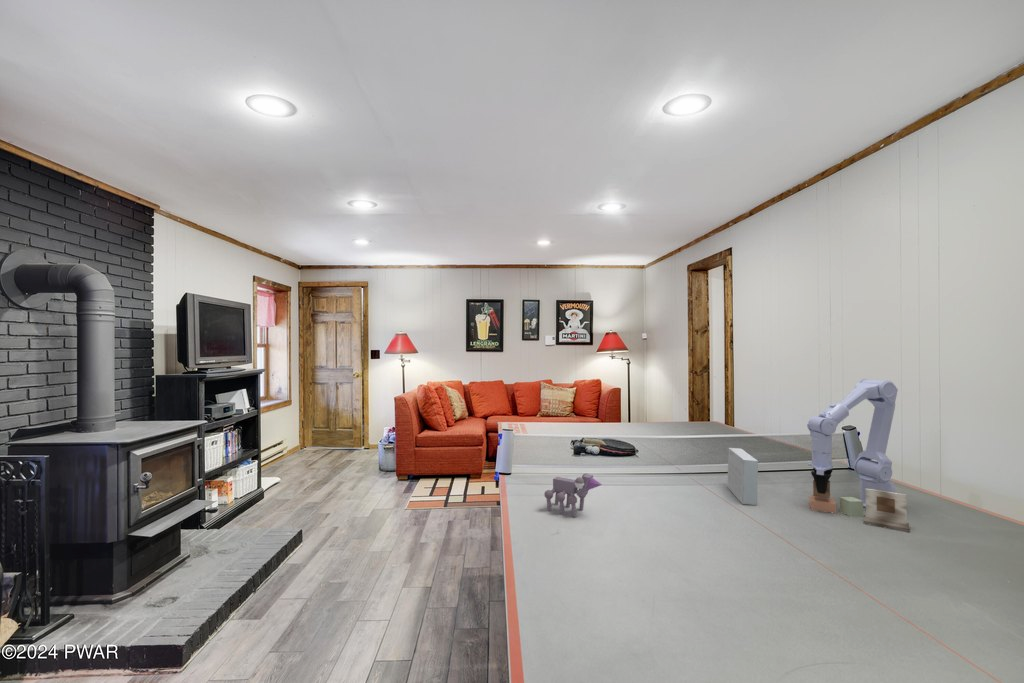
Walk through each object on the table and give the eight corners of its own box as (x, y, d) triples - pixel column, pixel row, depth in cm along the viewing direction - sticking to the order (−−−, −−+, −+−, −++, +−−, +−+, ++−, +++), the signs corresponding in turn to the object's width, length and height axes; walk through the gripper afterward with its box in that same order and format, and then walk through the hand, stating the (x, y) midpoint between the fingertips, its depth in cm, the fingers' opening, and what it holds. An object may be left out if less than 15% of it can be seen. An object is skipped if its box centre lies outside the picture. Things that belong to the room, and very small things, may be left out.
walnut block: (814, 492, 162) (814, 478, 162) (830, 495, 159) (829, 480, 159) (813, 495, 158) (813, 481, 159) (829, 498, 156) (829, 483, 156)
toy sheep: (609, 513, 155) (608, 473, 155) (595, 525, 147) (594, 482, 146) (557, 502, 167) (556, 464, 166) (542, 512, 158) (540, 473, 158)
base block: (809, 504, 164) (809, 494, 164) (833, 508, 160) (833, 497, 160) (811, 510, 157) (810, 500, 158) (835, 514, 154) (835, 503, 154)
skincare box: (759, 505, 162) (758, 460, 162) (742, 504, 163) (741, 459, 163) (741, 487, 183) (741, 447, 183) (727, 487, 184) (726, 447, 184)
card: (908, 526, 143) (908, 493, 143) (909, 532, 138) (909, 499, 138) (864, 518, 150) (863, 487, 150) (863, 523, 145) (863, 491, 145)
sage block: (852, 511, 156) (852, 496, 156) (863, 516, 151) (863, 501, 152) (839, 511, 156) (839, 497, 156) (850, 516, 151) (849, 501, 151)
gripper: (810, 446, 167) (810, 484, 167) (805, 454, 156) (806, 494, 156) (833, 449, 163) (834, 487, 163) (831, 457, 151) (831, 498, 151)
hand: (822, 491), depth 159 cm, fingers closed on walnut block, 4 cm apart
